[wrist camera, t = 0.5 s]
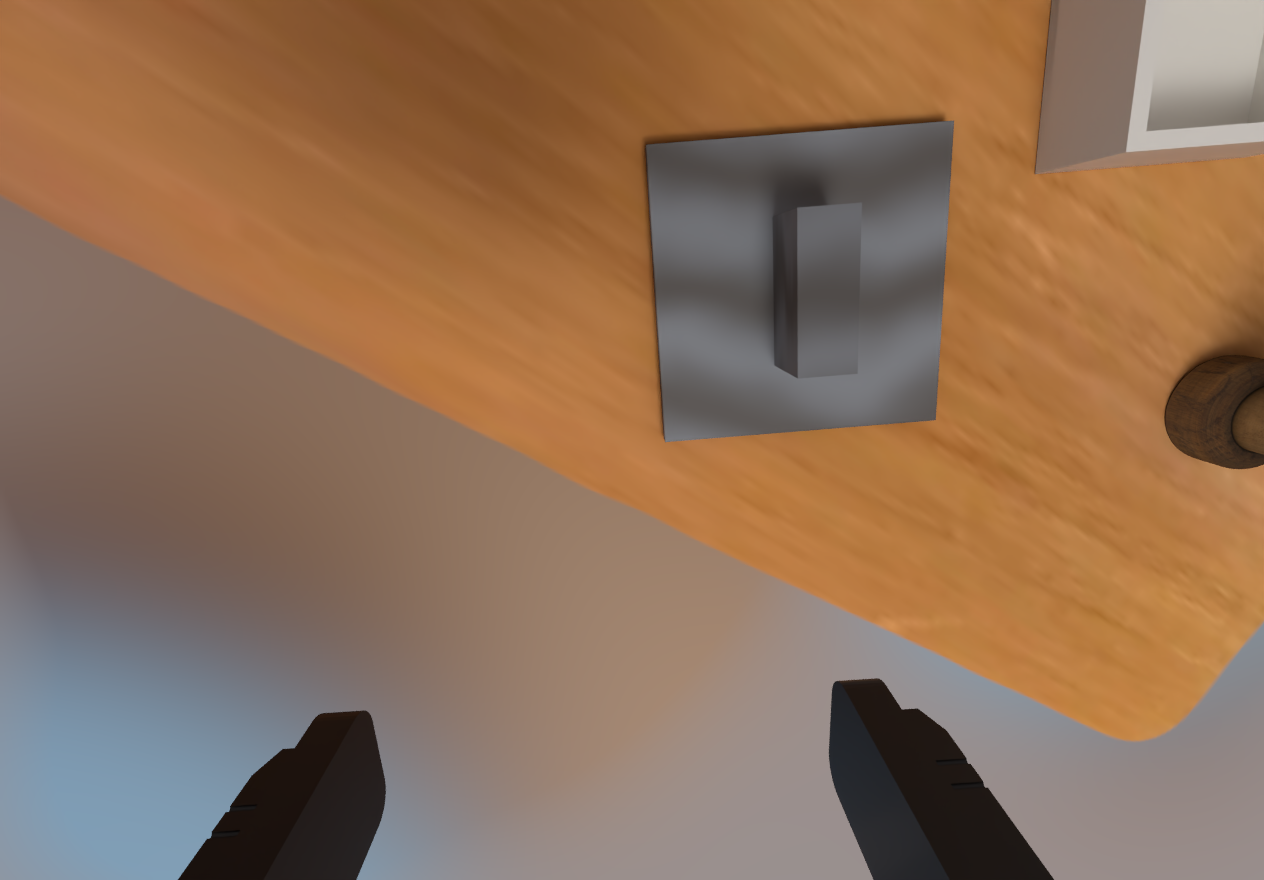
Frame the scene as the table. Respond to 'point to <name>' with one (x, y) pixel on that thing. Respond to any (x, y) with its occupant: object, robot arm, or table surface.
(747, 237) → the lid
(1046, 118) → the white storage bin
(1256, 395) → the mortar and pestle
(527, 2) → the table surface
